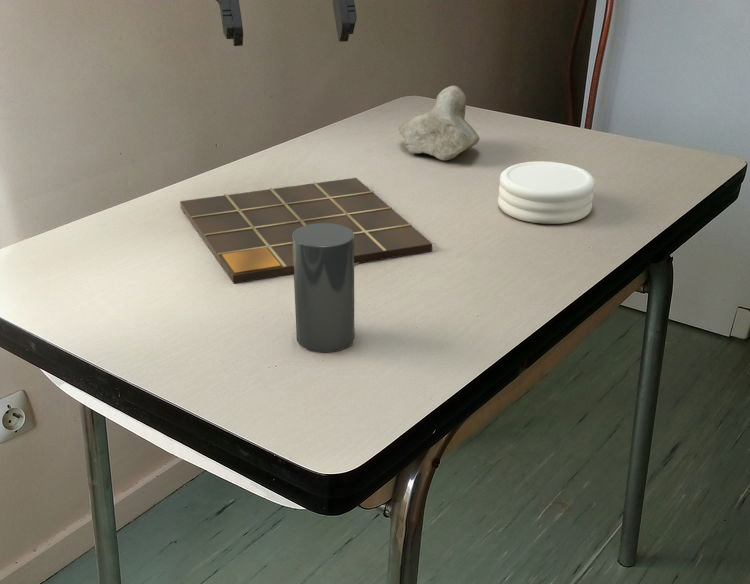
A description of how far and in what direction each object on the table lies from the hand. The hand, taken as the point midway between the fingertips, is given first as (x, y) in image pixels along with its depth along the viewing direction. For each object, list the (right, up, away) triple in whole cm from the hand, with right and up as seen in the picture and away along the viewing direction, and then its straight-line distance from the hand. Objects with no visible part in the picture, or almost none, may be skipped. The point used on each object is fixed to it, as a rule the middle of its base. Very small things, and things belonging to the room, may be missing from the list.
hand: (292, 38), depth 80 cm
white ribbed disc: (+25, -6, +27) cm, 37 cm away
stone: (+13, +4, +41) cm, 43 cm away
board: (-1, -9, +22) cm, 24 cm away
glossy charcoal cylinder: (+3, -23, +3) cm, 24 cm away
